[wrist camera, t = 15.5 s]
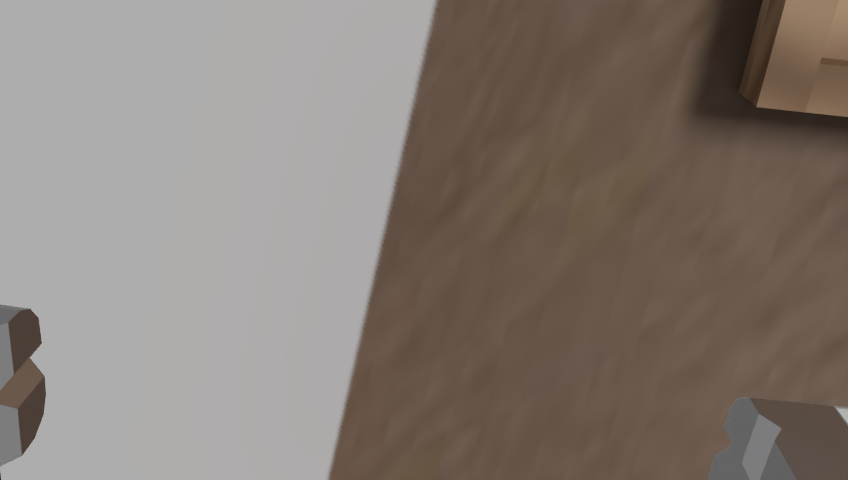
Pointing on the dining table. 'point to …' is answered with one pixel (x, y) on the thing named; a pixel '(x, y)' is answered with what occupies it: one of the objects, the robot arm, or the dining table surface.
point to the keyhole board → (799, 57)
